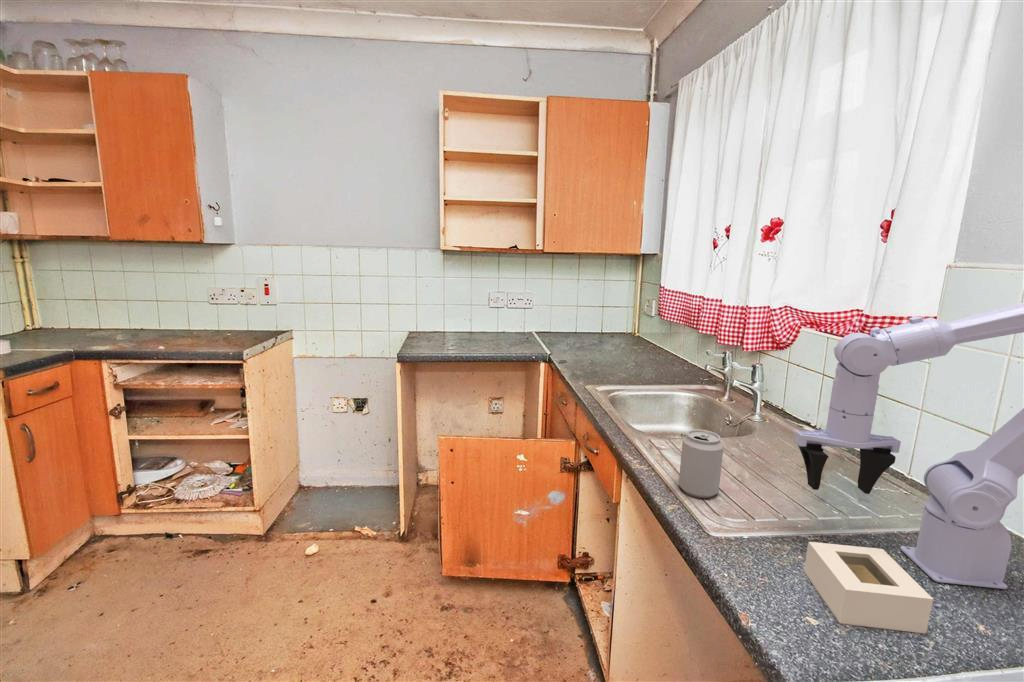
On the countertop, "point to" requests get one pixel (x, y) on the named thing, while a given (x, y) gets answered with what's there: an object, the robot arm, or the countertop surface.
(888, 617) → the box
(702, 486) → the can
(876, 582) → the block
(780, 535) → the countertop surface
